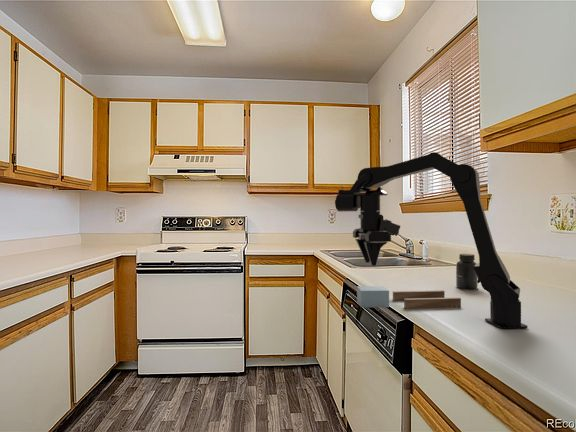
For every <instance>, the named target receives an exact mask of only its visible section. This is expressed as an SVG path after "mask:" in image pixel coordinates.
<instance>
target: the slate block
mask: <svg viewBox="0 0 576 432" xmlns="http://www.w3.org/2000/svg"><path fill="white" fill-rule="evenodd" d="M356 290H357V291H356V293H357V294H356V295H357V296H356V297H357V299H356V301H357V304H358V305H359V307H360V308H389V307H390V290H389V289H388V288H387V287H386V286H384V285H375V286H374V285H367V286H365V285H364V286H363V285H362V286H360V285H357V286H356Z"/></svg>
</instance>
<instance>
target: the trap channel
mask: <svg viewBox="0 0 576 432" xmlns="http://www.w3.org/2000/svg"><path fill="white" fill-rule="evenodd" d="M445 293H446V291H444V290H441V289H440V290H406V291H405V290H403V291H402V290H400V291H399V290H397V291H395V290H394V291H392V300H393V301H403V303H404V306H403V307H404V308H405V309H436V308H438V309H439V308H442V309H443V308H444V309H445V308H461V307H462V298H460V297H453V296H452V297H445V295H446V294H445Z"/></svg>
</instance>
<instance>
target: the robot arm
mask: <svg viewBox="0 0 576 432" xmlns="http://www.w3.org/2000/svg"><path fill="white" fill-rule="evenodd" d="M430 170H436V171H438V172H439V173H442V174H444V175H445V176H447V177H449V179H450V181H451V184H452V185H453V187H454V190H455V191H456V193H457V195H458V196H459V198H460V199H461V201H462V203H463V207H464V210H465V213H466V217H467V219H468V223H469V226H470V230H471V233H472V236H473V240H474V243H475V247H476V251H477V253H478V261H479V262H476V265H475V266H474V270H475V272H476V274H477V277H478V281H477V283H478V284H479V283H480V285H481V287H482V289H483V290H485V291H486V292H488V294H489V295H490V302H489V303H490V307H489V308H490V318H489V317H488V318H484V321H485V322H487V323H490V324H491V325H493V326H495V327H497V328H499V329H503V330H506V329H528V325H527V324H525V323H522V301H520V299H519V298H520V295H521V294H520V293H521V288H520V287H519V286H518V285H517V284H516V283H514V281H512V280H511V276H510V273H509V271H508V269H507V268H506V266H505V264H504V262H503V261H502V259H501V257H500V256H499V253H498V252H497V250H496V246H495V243H494V239H493V236H492V233H491V230H490V226H489V222H488V220H487V216H486V213H485V209H484V205H483V203H482V199H481V183H480V174H479V172H478V170H477V169H476V168H474V167H473V166H471V165H469V164H467V163H465V164H464V163H463V164H458V163H456V162H454V161H452V160H450V159H449V158H447V157H444V156H443V155H442V154H440V153H439V152H435V151H432V152H430V153H427V154H425V155H422V156H418V157H415V158H412V159H408V160H405V161H402V162H398V163H395V164H391V165H388V166H372V167H364V168H362V169H360V171H359V173H358V174H357V179H356V181H355V182H354V183H353V185H352V186H351V187H350V189H338V193H337V195H336V196H335V201H334V206H335V209H336V210H337V212H357V211H358V210H359V209H360V214H358V219H360V221H359V222H360V223H359V224H360V228H359V227H358V228H355V229H354V230H353V231H352V238H354V239H355V242H356V244H357V245H358V248H359V250H360V252H361V254H362V257H363V260H364V262H365V264H366V263H368V264H369V263H370V264H371V266H376V265H377V262H378V258H379V256H380V253H381V252H380V251H381V249H382V248H383V246H385V245H386V244H387V243H389V242H392V236H395V237H397V236H398V235H399V231H400V229H401V225H400V224H397V223H393V222H392V220H390V219H384V215H383V214H381V197H382V196H388V193H387V192H386V191H385V190H384V189H383V186H385V185H387V184H388V183H389V182H391V181H394V180H396V179H400V178H401V179H402V178H405V177H409V176H411V175H416V174H420V173H423V172H427V171H430Z"/></svg>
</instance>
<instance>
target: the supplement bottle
mask: <svg viewBox="0 0 576 432" xmlns="http://www.w3.org/2000/svg"><path fill="white" fill-rule="evenodd" d="M458 259H459V261H456V265H455V268H456V270H455V271H456V273H455V283H456V285H455V286H456V287H457V288H458V289H462V290H469V291H471V290H476V289H478V284H479V283H477V281H478V277H477V274H476V272H475V270H474V266H475V265H476V264H477V262H475V254H472V253H459V257H458Z"/></svg>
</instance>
